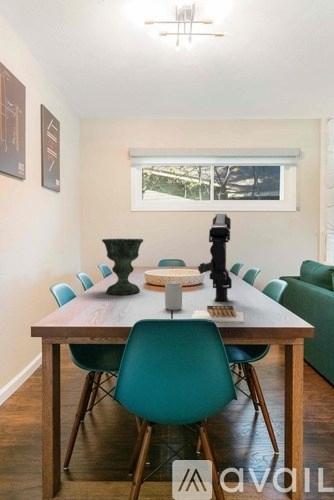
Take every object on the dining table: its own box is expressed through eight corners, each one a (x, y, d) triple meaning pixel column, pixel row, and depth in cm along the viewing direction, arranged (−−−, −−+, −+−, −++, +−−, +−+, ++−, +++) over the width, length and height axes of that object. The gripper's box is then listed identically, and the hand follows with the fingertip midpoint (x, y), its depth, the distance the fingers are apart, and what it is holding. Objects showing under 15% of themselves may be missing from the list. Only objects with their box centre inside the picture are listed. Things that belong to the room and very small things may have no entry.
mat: (195, 311, 142) (195, 310, 142) (243, 313, 138) (243, 312, 138) (190, 320, 128) (190, 318, 128) (243, 323, 124) (243, 321, 124)
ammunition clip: (207, 309, 142) (210, 318, 130) (207, 305, 141) (210, 313, 129) (232, 310, 141) (237, 318, 130) (232, 305, 141) (238, 313, 129)
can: (166, 311, 143) (166, 283, 142) (163, 307, 150) (163, 281, 149) (183, 310, 144) (183, 283, 143) (179, 306, 151) (179, 280, 151)
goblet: (100, 290, 193) (100, 238, 192) (138, 288, 200) (138, 238, 198) (105, 297, 172) (104, 239, 171) (147, 294, 179) (147, 239, 178)
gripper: (201, 254, 146) (201, 289, 147) (196, 257, 128) (196, 297, 129) (227, 254, 144) (226, 290, 145) (225, 258, 126) (225, 298, 127)
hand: (218, 294), depth 137 cm, fingers closed
